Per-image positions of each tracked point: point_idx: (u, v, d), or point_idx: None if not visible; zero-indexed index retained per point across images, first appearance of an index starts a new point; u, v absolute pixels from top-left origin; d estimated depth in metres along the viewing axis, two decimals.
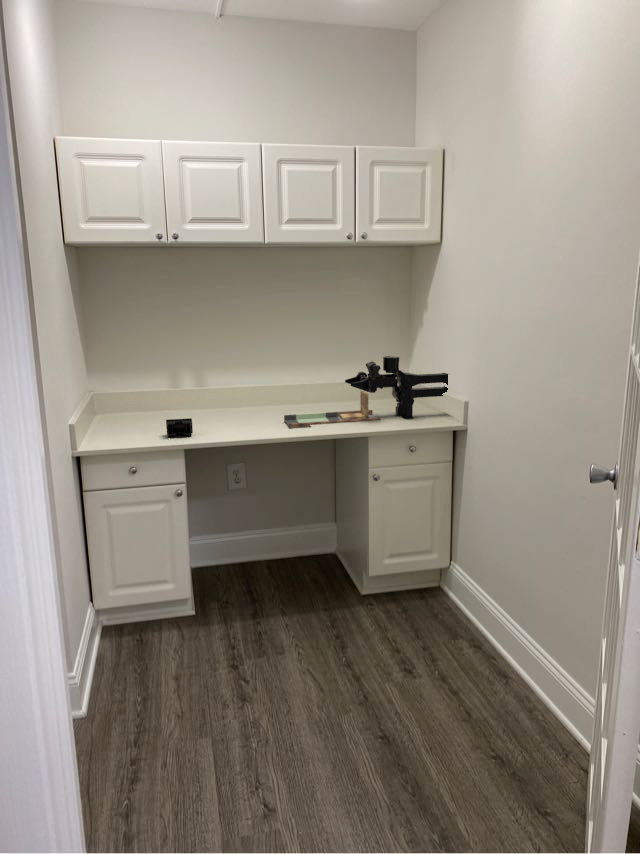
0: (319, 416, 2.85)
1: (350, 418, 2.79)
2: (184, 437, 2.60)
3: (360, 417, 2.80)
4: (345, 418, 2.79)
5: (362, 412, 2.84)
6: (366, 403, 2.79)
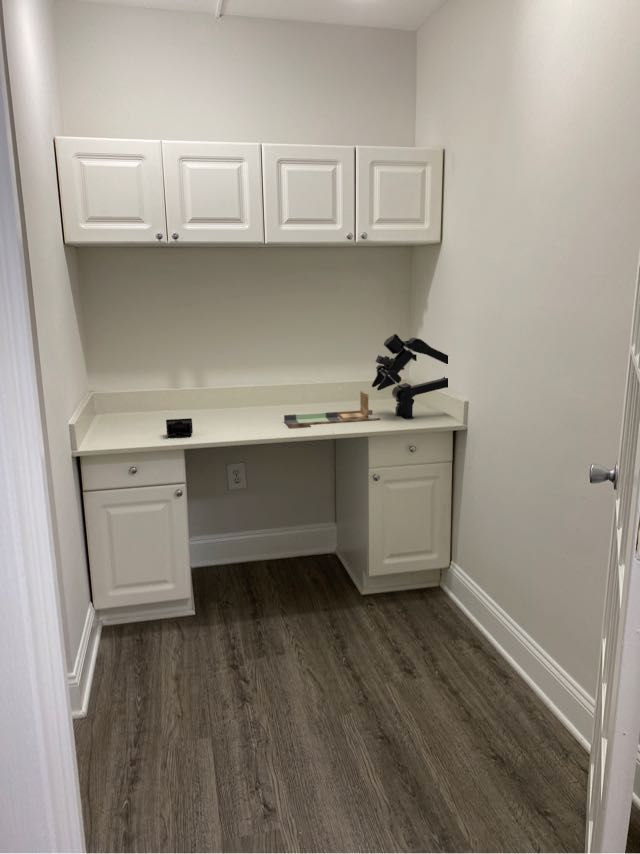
0: (319, 416, 2.85)
1: (350, 418, 2.79)
2: (184, 437, 2.60)
3: (360, 417, 2.80)
4: (345, 418, 2.79)
5: (362, 412, 2.84)
6: (366, 403, 2.79)
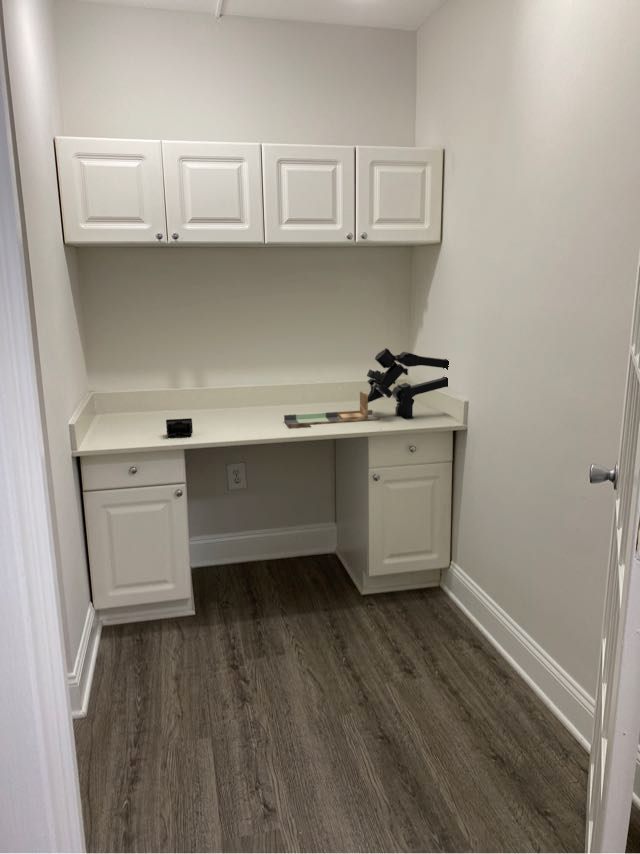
0: (319, 416, 2.85)
1: (349, 418, 2.79)
2: (184, 437, 2.60)
3: (359, 417, 2.80)
4: (344, 418, 2.79)
5: (361, 412, 2.84)
6: (365, 403, 2.79)
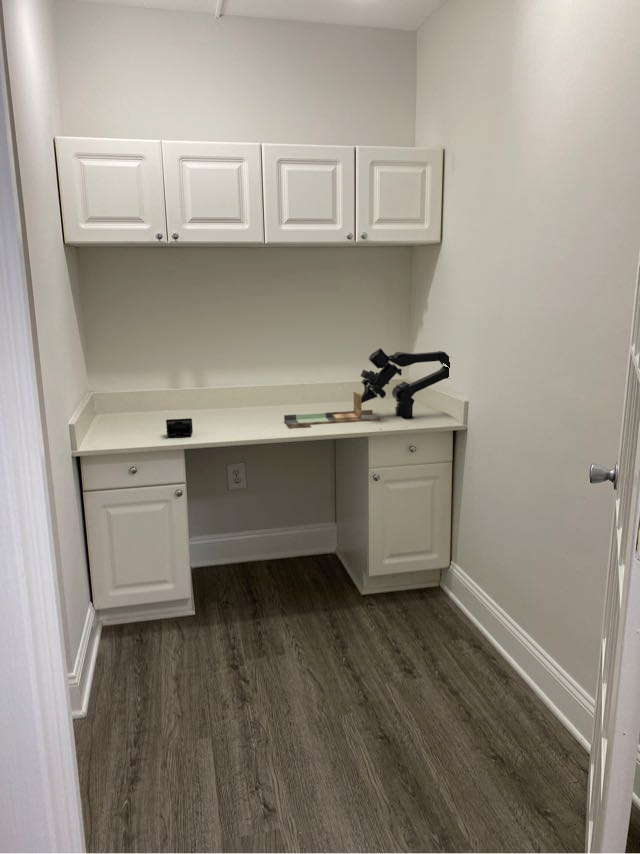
0: (319, 416, 2.85)
1: (343, 418, 2.79)
2: (184, 437, 2.60)
3: (353, 417, 2.80)
4: (338, 418, 2.78)
5: (355, 412, 2.83)
6: (359, 403, 2.79)
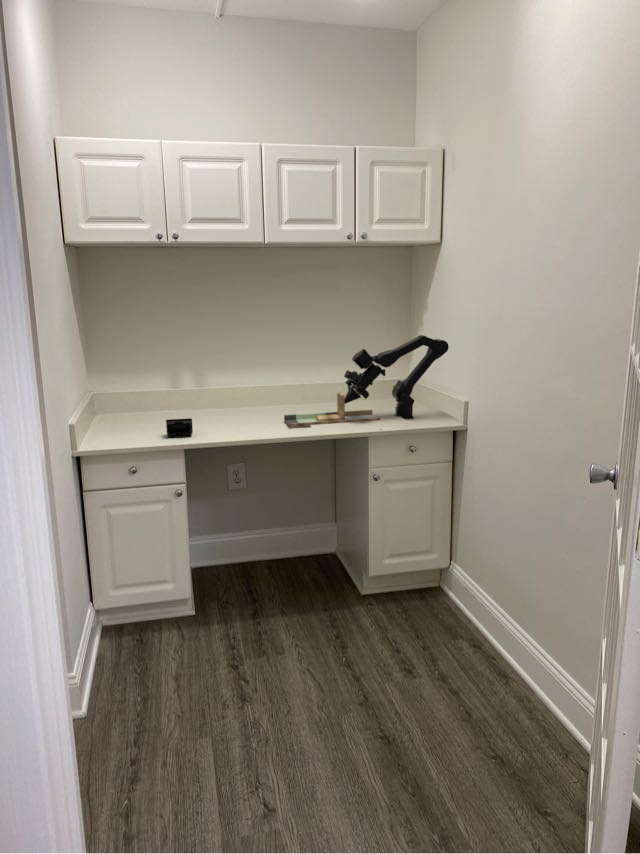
0: None
1: (326, 420, 2.77)
2: (184, 437, 2.60)
3: (336, 419, 2.78)
4: (321, 420, 2.77)
5: (339, 413, 2.82)
6: (342, 404, 2.77)
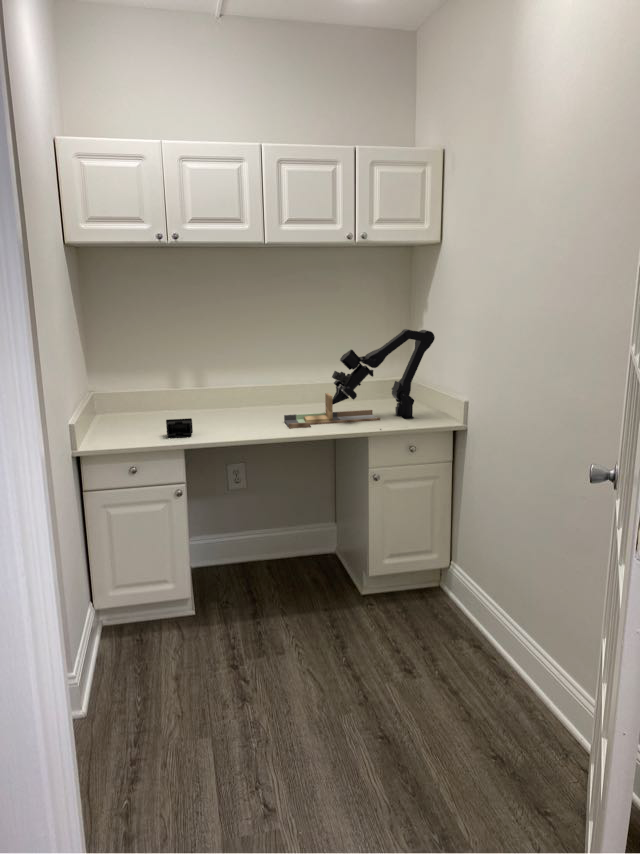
0: None
1: (314, 420, 2.76)
2: (184, 437, 2.60)
3: (324, 419, 2.77)
4: (309, 420, 2.76)
5: (327, 414, 2.81)
6: (330, 405, 2.76)
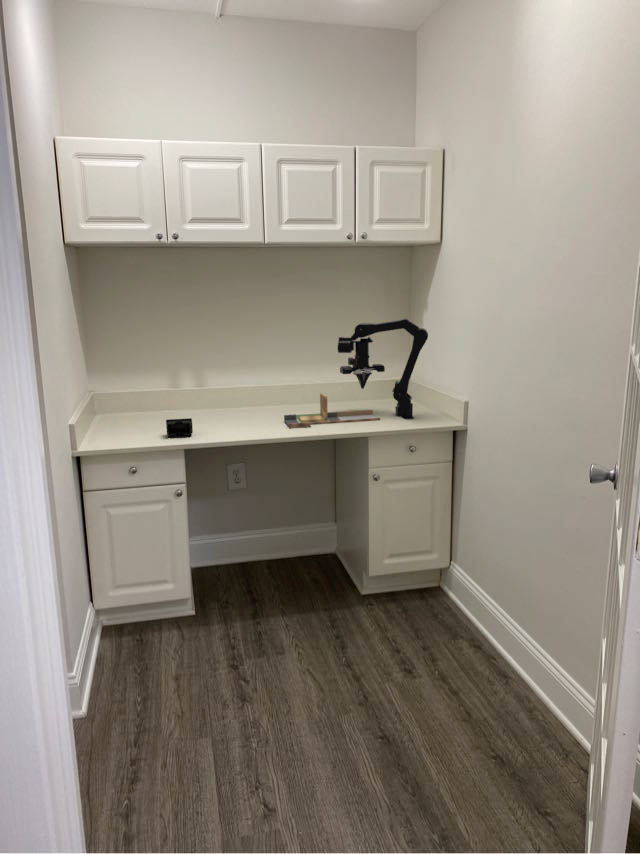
0: None
1: (309, 421, 2.76)
2: (184, 437, 2.60)
3: (319, 420, 2.77)
4: (304, 421, 2.75)
5: (322, 415, 2.80)
6: (325, 405, 2.76)
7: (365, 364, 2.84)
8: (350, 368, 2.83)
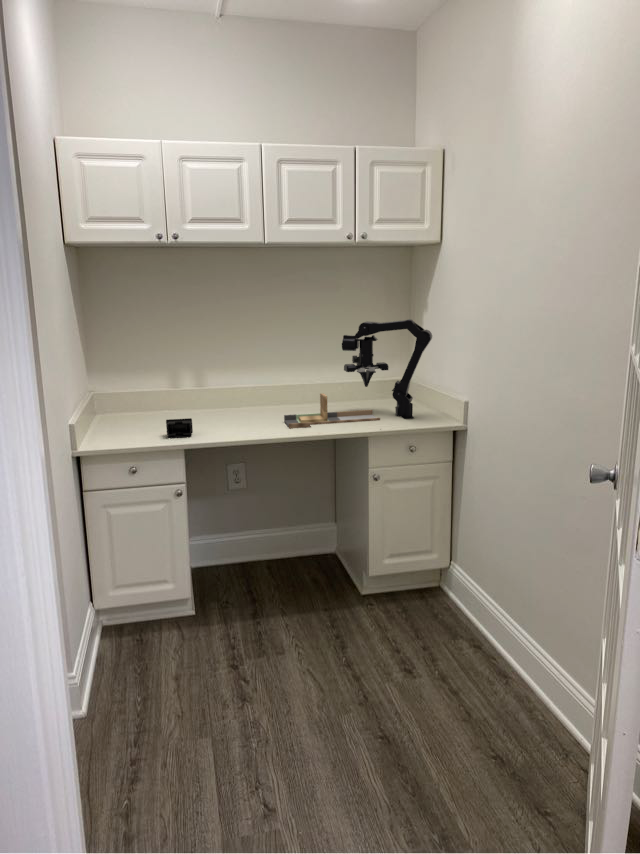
0: None
1: (309, 421, 2.76)
2: (184, 437, 2.60)
3: (319, 420, 2.77)
4: (304, 421, 2.75)
5: (322, 415, 2.80)
6: (325, 405, 2.76)
7: (369, 362, 2.85)
8: (354, 366, 2.84)
